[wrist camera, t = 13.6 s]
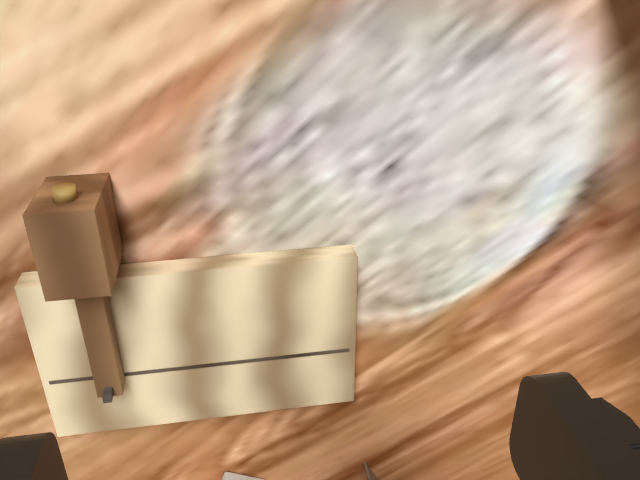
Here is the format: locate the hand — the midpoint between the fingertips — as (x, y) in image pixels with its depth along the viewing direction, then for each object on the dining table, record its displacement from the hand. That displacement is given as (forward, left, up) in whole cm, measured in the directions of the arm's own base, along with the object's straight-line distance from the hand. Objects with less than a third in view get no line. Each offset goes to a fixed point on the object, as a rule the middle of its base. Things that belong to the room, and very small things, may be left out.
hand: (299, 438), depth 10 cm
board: (+4, +21, -32) cm, 39 cm away
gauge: (+11, +14, -32) cm, 37 cm away
